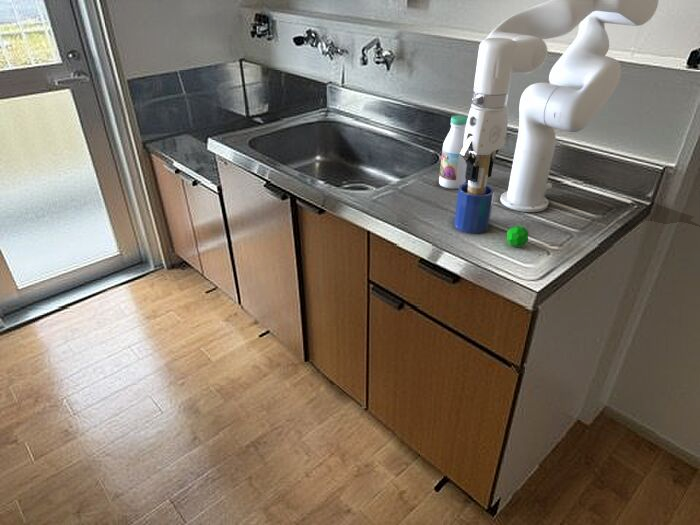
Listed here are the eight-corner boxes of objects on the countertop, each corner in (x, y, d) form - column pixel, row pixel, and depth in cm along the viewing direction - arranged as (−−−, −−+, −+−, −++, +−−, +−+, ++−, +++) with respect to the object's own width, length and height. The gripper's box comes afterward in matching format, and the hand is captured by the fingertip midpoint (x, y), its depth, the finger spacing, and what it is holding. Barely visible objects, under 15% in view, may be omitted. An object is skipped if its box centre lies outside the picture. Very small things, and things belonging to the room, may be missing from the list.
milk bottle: (456, 177, 151) (464, 112, 141) (469, 187, 145) (479, 119, 135) (434, 181, 149) (440, 114, 138) (447, 191, 143) (454, 122, 132)
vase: (469, 215, 130) (474, 179, 124) (494, 227, 124) (501, 190, 119) (447, 224, 125) (451, 187, 120) (472, 237, 120) (478, 199, 114)
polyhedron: (522, 240, 118) (526, 222, 116) (529, 250, 114) (533, 232, 112) (502, 240, 118) (505, 222, 116) (508, 250, 114) (511, 232, 112)
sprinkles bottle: (488, 198, 120) (497, 145, 113) (475, 203, 118) (483, 148, 111) (474, 192, 123) (482, 139, 116) (461, 196, 121) (468, 143, 114)
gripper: (478, 109, 101) (466, 191, 111) (527, 97, 110) (512, 174, 120) (450, 102, 106) (442, 181, 116) (499, 91, 115) (488, 165, 125)
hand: (478, 177), depth 118 cm, fingers closed on sprinkles bottle, 4 cm apart
